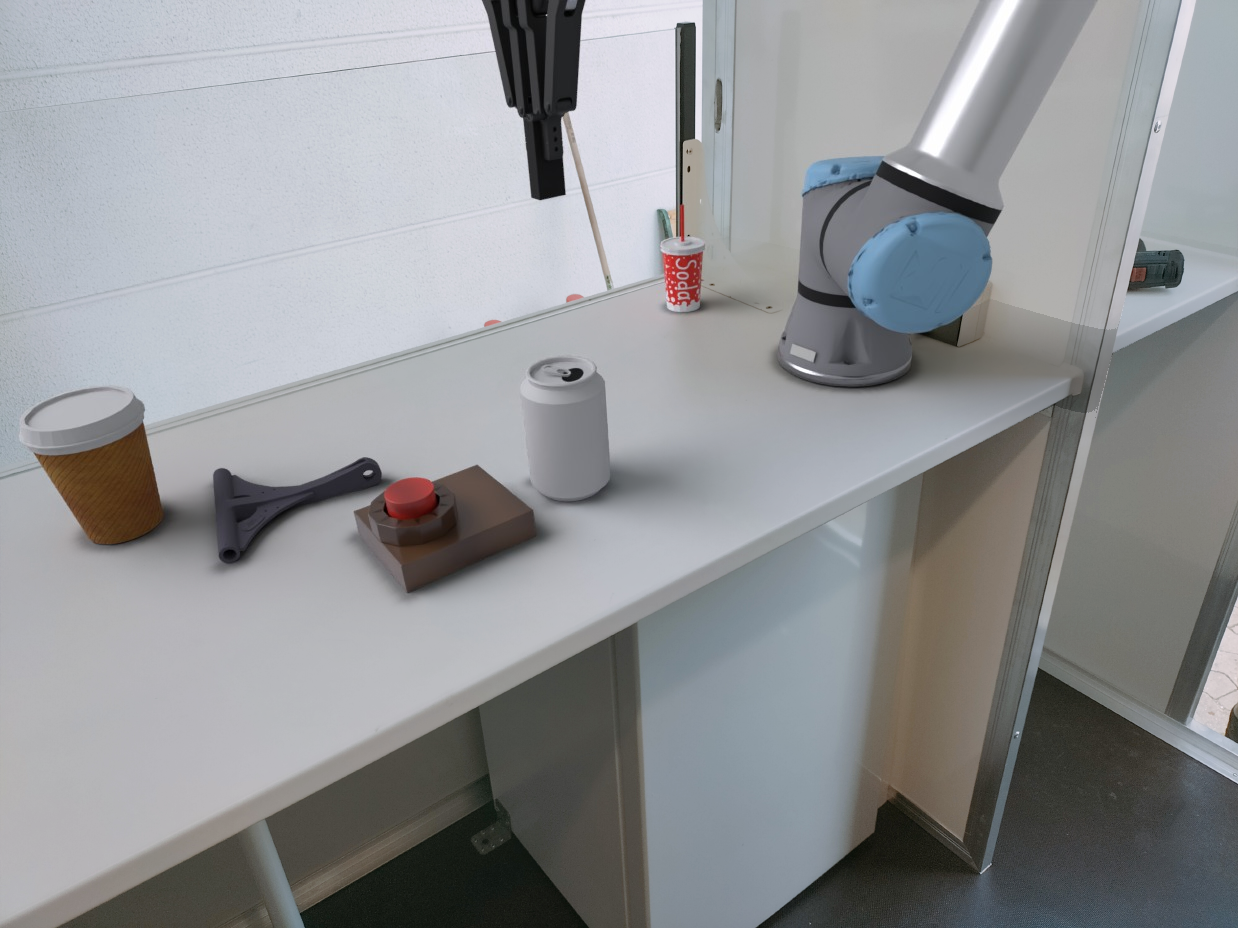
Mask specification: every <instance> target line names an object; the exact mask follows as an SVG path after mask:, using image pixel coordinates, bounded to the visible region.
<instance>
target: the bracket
mask: <svg viewBox="0 0 1238 928" xmlns="http://www.w3.org/2000/svg"><path fill="white" fill-rule="evenodd" d="M367 471H372V472H371V473H369V474H365V473H366V472H367ZM382 476H383V472H382V469H381V467H380V465H379V463H378V461H376V460H375V459H373V458H371V457H367V456H363V457H360V458H358V459H357V460H355V461H353V462H351V463H350V464H348V465H346V466H343V467H342V468H339V469H337V470H335V471H333V472H331V473H328V474H326V475H325V476H321V477H319V478H316V479H313V480H311V481H307V482H304V483H302V484H297V485H288V486H270V485H264V484H257V483H254V482H250V481H247V480H245V479H244V478H241V477H240V476H238V475H237V474H232V472H231V471H230V470H229V469H228V468H224V467H220V468H217V469H215V470H214V471H213V473H212V482H213V495H214V509H215V525H216V536H217V537H216V539H217V551H218V552H217V553H218V558H219V560H220V561H221V562H222V563H224V564H225V563H226V564H232V563H235V562H236V561H238V560H239V558H240V557H241V552H245V551H246V549H247V548H248V546H249V544H250V543H251V542H252V540H253V538H254V537H255V536H256V535H257V534H258V533H259V531H260V530H262V528H263V527H264V526H265V525H267V524H268V523H269V522H270V521H272V520H273V519H274V518H275V517H276V516H278V515H279V514H281V513H282V512H284V511H286V510H288V509H290V508H294V507H298V506H302V505H306V504H310V503H314V502H319V501H322V500H326V499H330V498H333V497H338V496H341V495H345V494H349V493H353V492H357V491H361V490H365V489H369V488H372V487H374V486H376V485H377V484H378V483H380V482H381V480H382ZM238 521H240V522H238Z"/></svg>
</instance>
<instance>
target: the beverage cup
mask: <svg viewBox="0 0 1238 928" xmlns="http://www.w3.org/2000/svg"><path fill="white" fill-rule="evenodd" d="M659 247H660V252H662V263H663V275H664V287H665V298H666V308H667V309H668V310H669V311H671V312H676V313H690V312H694V311H697V310H698V309H699V308H701V307H700V306H701V305H700V304H701V293H702V292H701V290H702V277H703V276H702V275H703V258H704V251H705V250H706V240H704V239H703V238H700V237H697V236H687V235H686V236H685V204H680V236H673V237H669V238H668V237H667V238H665V239H663V240H661V241H660V244H659Z"/></svg>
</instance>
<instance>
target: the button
mask: <svg viewBox="0 0 1238 928" xmlns="http://www.w3.org/2000/svg"><path fill="white" fill-rule="evenodd" d="M384 491H385V493H384V497H385V501H386V506H387V510H388V514H389V515H390V517H392V518H396V519H400V520H403V519H413V518H418V517H421V516H423V515H426V514H428V513H431V512H432V511H433V510H434V509H435V508H436V507H437V500H436V495H435V490H434V485H433V483H432V480H429V479H427V478H425V477H417V476H416V477H413V476H412V477H406V478H402V479H399V480H396V481H395V482H393V483H391V484H390V485H388V486H387V487H386V489H385V490H384Z"/></svg>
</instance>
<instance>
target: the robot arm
mask: <svg viewBox="0 0 1238 928" xmlns="http://www.w3.org/2000/svg"><path fill="white" fill-rule="evenodd" d="M586 1H587V0H481V2H482V4H483V6H484V10H485V11H486V15H487V19H488V24H489V29H490V34H491V38H492V42H493V43H492V44H493V47H494V51H495V56H496V62H497V65H498V70H499V71H498V72H499V76H500V80H501V85H502V88H503V93H504V98H505V102H506V106H507V107H508V108H510V109H511V108H515V109H516V111H517V115H518V116H519V117H520V118H521V119H522V121H523V132H524V133H523V134H524V142H525V150H526V158H527V170H528V178H529V179H528V180H529V189H530V197H531V199H535V200H536V201H544V200H545V201H546V200H549V199H554V198H559V197H562V196H567V193H566V179H565V165H564V141H563V129H562V128H563V127H562V119H563V118H564V117H565V115H566V114H568V113H569V112H574V111H576V109H577V106H578V90H579V89H578V88H579V73H580V71H579V70H580V55H581V54H580V52H581V36H582V23H583V22H582V21H583V19H582V18H583V11H584V8H585V5H586ZM1098 1H1099V0H978V2H977V4H976V7H975V9H974V10H973V13H972V14H971V17H970V19H969V21H968V23H967V25H966V27H965V28H964V31H963V33H962V34H961V37H960V39H959V41H958V42H957V45H956V47H955V49H954V51H953V53H952V56H951V57H950V59H949V61H948V64H947V66H946V68H945V70H944V72H943V73H942V76H941V77H940V80H939V82H938V83H937V86H936V88H935V90H934V92H933V94H932V96H931V98H930V100H929V102H928V104H927V106H926V108H925V109H924V112H923V114H922V116H921V118H920V120H919V122H918V125H917V127H916V128H915V131H914V132H913V134H912V137H911V139H910V141H908V143H907V144H906V146H904V147H901V148H898V149H896V150H894V151H892V152H890V153H888V154H886V155H870V156H869V155H867V156H865V155H863V156H846V157H835V158H827V159H822V160H818V161H815V162H813V163H811V164H810V165H809V167H808V168H807V169H806V172H805V176H804V183H803V184H804V185H803V189H802V190H801V197H802V209H801V210H802V211H801V227H800V229H801V230H800V243H799V244H800V245H799V261H798V279H797V280H798V281H797V294H796V298H795V300H794V303H793V306H792V308H791V310H790V313H789V316H788V318H787V321H786V323H785V326H784V330H783V332H782V333H781V336H780V338H779V343H778V351H777V360H778V362H779V365H780V366H781V367H782V368H783V370H785V371H787V372H788V373H789V374H791V375H793V376H795V377H798V378H800V379H802V380H805V381H808V382H812V383H815V384H820V385H827V386H832V387H833V386H834V387H835V386H836V387H850V388H852V387H853V388H855V387H856V388H857V387H868V386H869V387H870V386H875V385H877V386H878V385H881V384H886V383H889V382H892V381H894V380H897V379H899V378H901V377H903V376H904V375H905V374H906V373H907V372H908V371H909V370H910V368H911V366H912V360H913V359H912V357H913V345H912V340H911V338H910V335H909V334H920V333H927V332H931V331H933V330H935V329H938V328H940V327H943V326H947V325H949V324H951V323H953V322H954V321H956V320H957V319H959V318H960V317H962V316H963V315H964V314H965V313H967V312H968V311H969V310H970V309H971V308H972V307H973V306H974V305H975V304H976V302H977V301H978V300H979V299H980V297H981V296H982V294H983V292H985V289H986V288H987V285H988V283H989V281H990V277H991V275H992V274H991V273H992V270H993V257H992V255H991V253H992V252H991V251H992V250H991V244H990V240H989V239H988V236H989V235H990V233H991V231H992V229H993V228H994V226H995V224H996V222H997V220H998V218H999V217H1000V215H1001V214H1002V211H1003V209H1004V207H1005V204H1004V201H1003V197H1002V193H1001V190H1000V187H999V183H1000V180H1001V177H1002V175H1003V173H1004V171H1005V169H1006V168H1007V167H1008V165H1009V162H1010V161H1011V159H1012V158H1013V156H1014V154H1015V152H1016V150H1017V148H1018V146H1019V144H1020V143H1021V141H1022V140H1023V137H1024V136H1025V134H1026V132H1027V130H1028V128H1029V127H1030V125H1031V123H1032V121H1033V119H1034V117H1035V115H1036V114H1037V112H1038V111H1039V107H1041V104H1042V103H1043V101H1044V99H1045V97H1046V95H1047V94H1048V92H1049V90H1050V88H1051V86H1052V85H1053V83H1054V81H1055V79H1056V78H1057V75H1058V74H1059V72H1060V70H1061V69H1062V67H1063V65H1064V63H1065V61H1066V60H1067V57H1068V55H1069V54H1070V52H1071V50H1072V48H1073V47H1074V44H1075V43H1076V41H1077V39H1078V37H1079V35H1080V34H1081V32H1082V30H1083V28H1084V27H1085V25H1086V23H1087V21H1088V19H1089V18H1090V17H1091V14H1092V12H1093V10H1094V8H1095V7H1096V5H1097V3H1098Z"/></svg>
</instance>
